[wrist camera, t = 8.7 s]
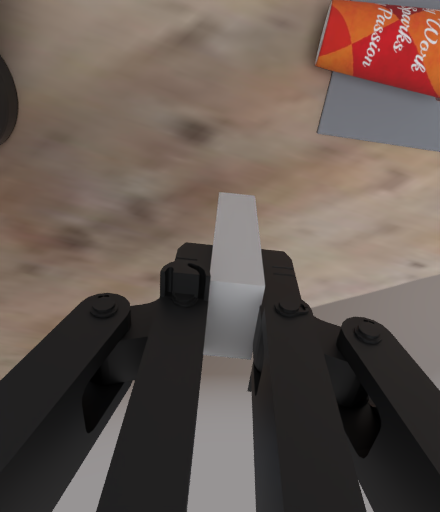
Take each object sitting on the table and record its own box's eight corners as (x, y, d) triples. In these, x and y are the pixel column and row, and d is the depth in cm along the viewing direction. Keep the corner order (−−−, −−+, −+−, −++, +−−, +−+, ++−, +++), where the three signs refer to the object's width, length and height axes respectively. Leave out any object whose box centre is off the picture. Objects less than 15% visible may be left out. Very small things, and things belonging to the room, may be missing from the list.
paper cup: (341, -38, 32) (506, -11, 31) (322, 27, 40) (454, 50, 39) (323, 44, 31) (492, 74, 30) (307, 94, 39) (441, 120, 38)
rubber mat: (316, 132, 43) (317, 133, 43) (367, -67, 34) (368, -68, 34) (450, 152, 43) (453, 153, 43) (536, -40, 34) (540, -42, 34)
